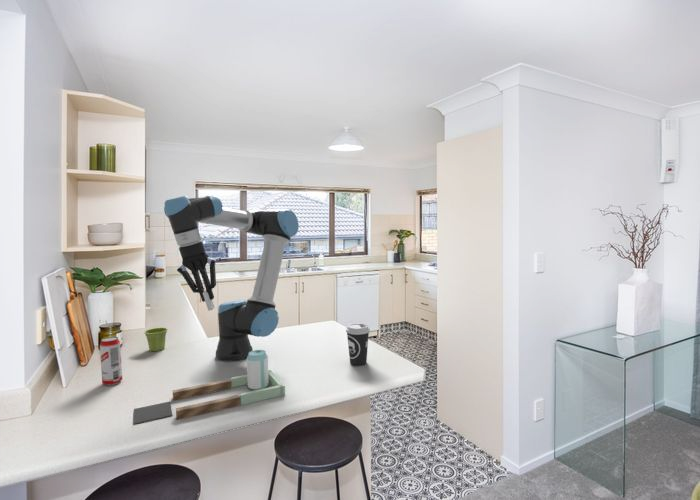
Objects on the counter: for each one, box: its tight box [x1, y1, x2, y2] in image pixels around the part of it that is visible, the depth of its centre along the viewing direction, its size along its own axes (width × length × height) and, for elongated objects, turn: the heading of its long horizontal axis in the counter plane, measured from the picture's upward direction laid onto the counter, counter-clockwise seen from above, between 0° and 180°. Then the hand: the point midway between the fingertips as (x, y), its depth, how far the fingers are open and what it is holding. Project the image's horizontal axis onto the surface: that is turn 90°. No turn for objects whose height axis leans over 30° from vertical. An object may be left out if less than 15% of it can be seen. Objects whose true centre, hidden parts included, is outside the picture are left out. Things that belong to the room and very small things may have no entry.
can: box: [246, 349, 270, 391], centre depth 135 cm, size 7×7×12 cm
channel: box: [172, 378, 241, 420], centre depth 124 cm, size 18×16×2 cm
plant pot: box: [143, 327, 168, 352], centre depth 177 cm, size 9×9×9 cm
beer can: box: [99, 336, 123, 387], centre depth 140 cm, size 6×6×16 cm
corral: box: [229, 369, 286, 406], centre depth 132 cm, size 14×16×3 cm
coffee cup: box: [345, 322, 371, 367], centre depth 156 cm, size 10×10×15 cm
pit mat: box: [133, 401, 173, 425], centre depth 118 cm, size 10×10×1 cm
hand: (211, 308), depth 135 cm, fingers closed
